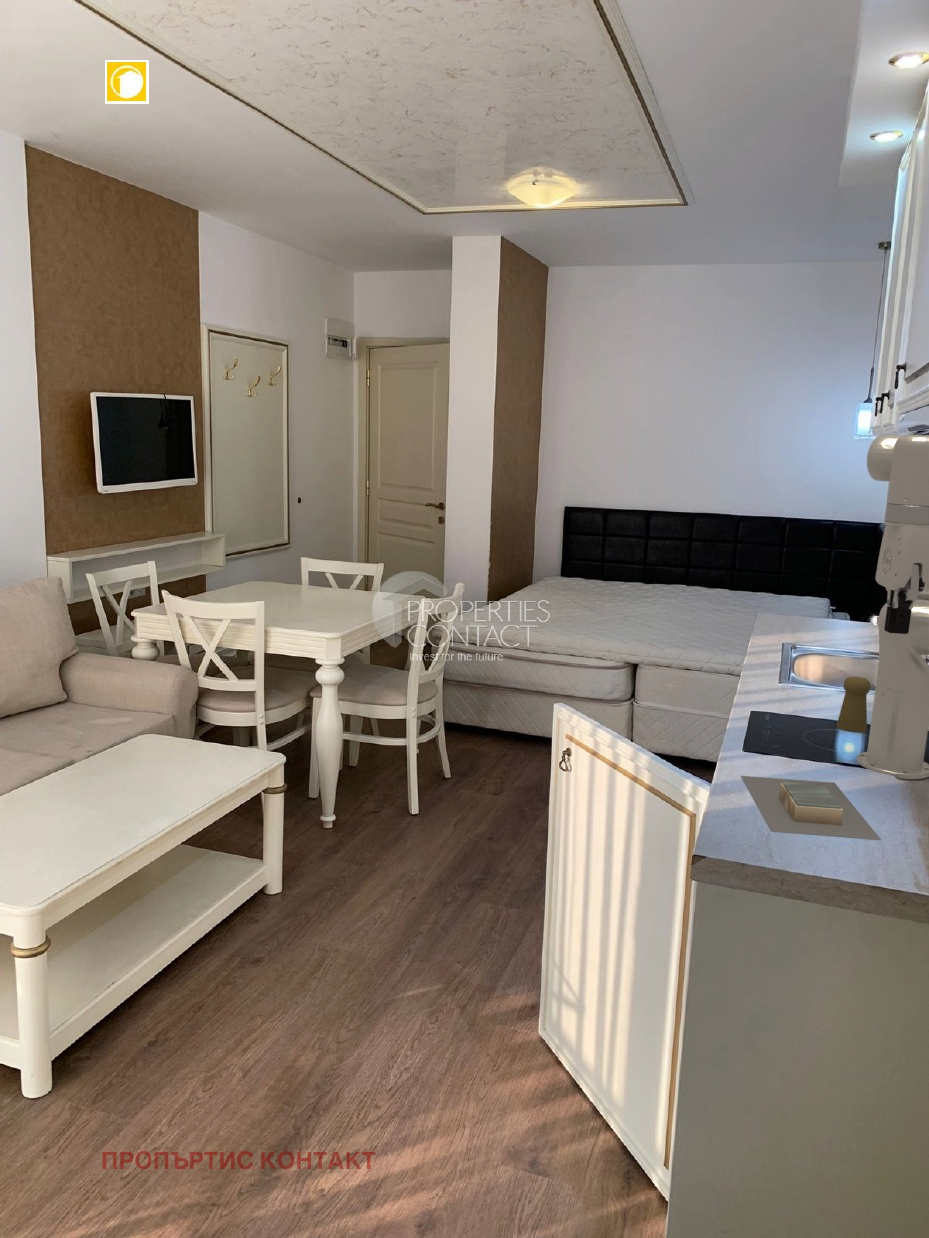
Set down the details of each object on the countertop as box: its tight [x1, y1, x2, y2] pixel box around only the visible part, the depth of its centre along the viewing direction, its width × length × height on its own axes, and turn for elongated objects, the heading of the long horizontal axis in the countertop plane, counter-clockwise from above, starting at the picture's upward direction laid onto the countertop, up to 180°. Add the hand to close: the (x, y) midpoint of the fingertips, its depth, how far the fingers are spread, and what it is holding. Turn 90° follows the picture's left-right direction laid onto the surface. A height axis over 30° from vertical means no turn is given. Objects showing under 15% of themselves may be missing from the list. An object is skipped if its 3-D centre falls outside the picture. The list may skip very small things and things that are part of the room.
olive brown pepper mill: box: [836, 676, 871, 734], centre depth 196 cm, size 6×6×11 cm
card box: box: [779, 782, 843, 825], centre depth 148 cm, size 3×7×10 cm
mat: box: [740, 775, 882, 841], centre depth 151 cm, size 24×16×1 cm, turn 174°
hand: (896, 632), depth 148 cm, fingers closed
